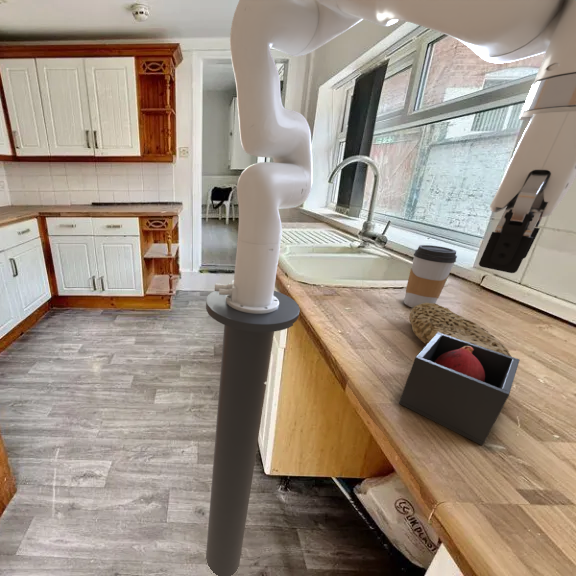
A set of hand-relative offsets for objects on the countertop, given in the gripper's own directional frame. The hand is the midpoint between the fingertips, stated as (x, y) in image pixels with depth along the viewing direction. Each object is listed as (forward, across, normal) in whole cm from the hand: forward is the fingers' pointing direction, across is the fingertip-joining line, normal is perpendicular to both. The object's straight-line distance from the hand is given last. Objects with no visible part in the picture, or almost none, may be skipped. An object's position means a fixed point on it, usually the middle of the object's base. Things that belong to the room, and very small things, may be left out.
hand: (502, 262), depth 38 cm
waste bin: (+22, 0, +1) cm, 22 cm away
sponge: (+22, -19, -3) cm, 29 cm away
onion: (+21, 0, +1) cm, 21 cm away
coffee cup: (+22, -39, -13) cm, 46 cm away
